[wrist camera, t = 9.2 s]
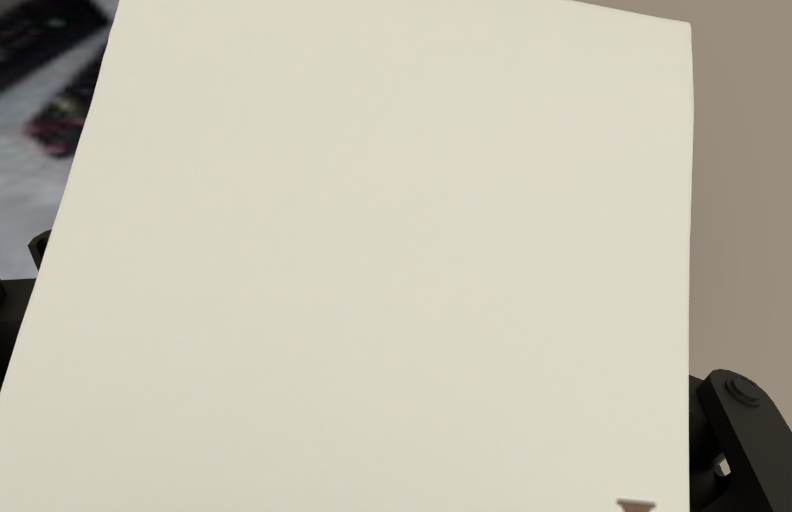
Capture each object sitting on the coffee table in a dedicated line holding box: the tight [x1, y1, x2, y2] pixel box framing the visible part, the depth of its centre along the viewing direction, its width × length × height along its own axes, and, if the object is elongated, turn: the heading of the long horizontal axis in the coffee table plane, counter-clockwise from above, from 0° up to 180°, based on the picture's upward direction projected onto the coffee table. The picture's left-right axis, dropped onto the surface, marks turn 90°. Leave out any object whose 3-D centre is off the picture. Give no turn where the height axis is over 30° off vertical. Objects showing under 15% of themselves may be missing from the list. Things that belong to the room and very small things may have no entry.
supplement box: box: [0, 0, 694, 512], centre depth 13 cm, size 9×9×15 cm
